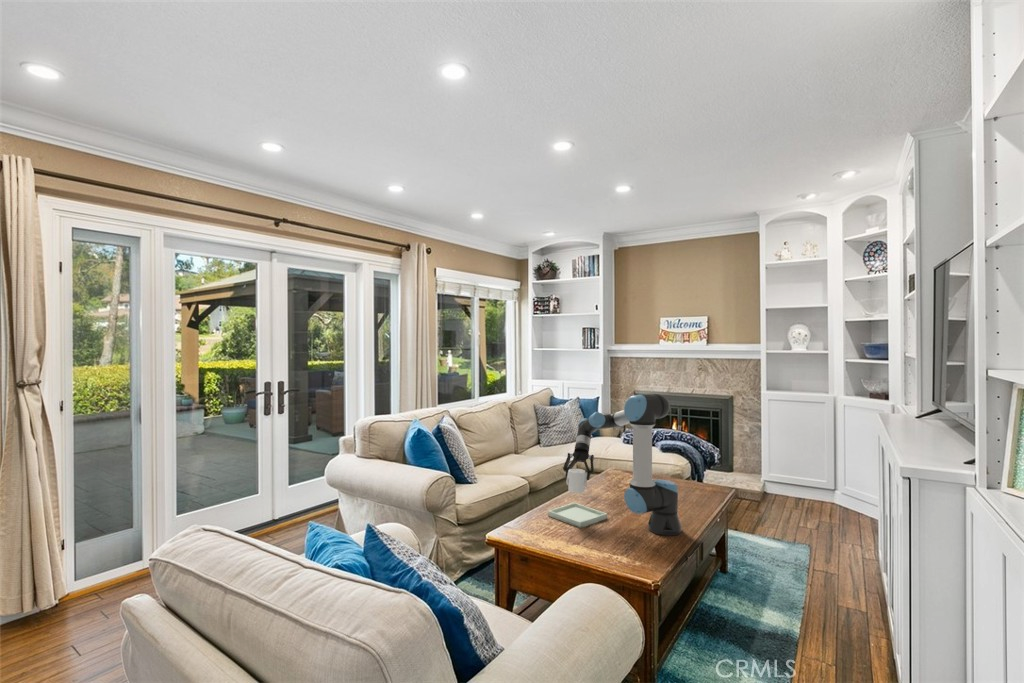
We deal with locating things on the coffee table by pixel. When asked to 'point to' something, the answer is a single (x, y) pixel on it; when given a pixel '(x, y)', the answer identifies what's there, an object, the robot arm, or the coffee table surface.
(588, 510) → the sage tray
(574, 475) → the cup
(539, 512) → the coffee table surface
